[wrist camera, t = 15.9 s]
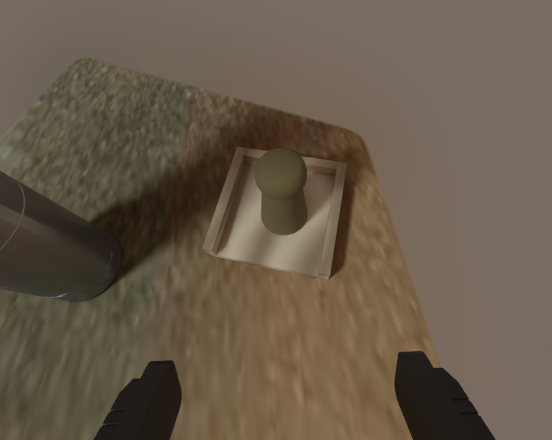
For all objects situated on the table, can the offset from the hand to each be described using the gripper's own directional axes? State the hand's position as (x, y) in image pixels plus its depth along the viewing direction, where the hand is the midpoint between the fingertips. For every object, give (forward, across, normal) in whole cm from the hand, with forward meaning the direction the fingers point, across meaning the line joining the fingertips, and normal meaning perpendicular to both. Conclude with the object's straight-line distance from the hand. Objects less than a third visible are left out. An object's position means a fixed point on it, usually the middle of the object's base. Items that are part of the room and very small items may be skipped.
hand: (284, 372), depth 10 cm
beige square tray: (+28, 0, +4) cm, 28 cm away
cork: (+27, 0, +4) cm, 27 cm away
